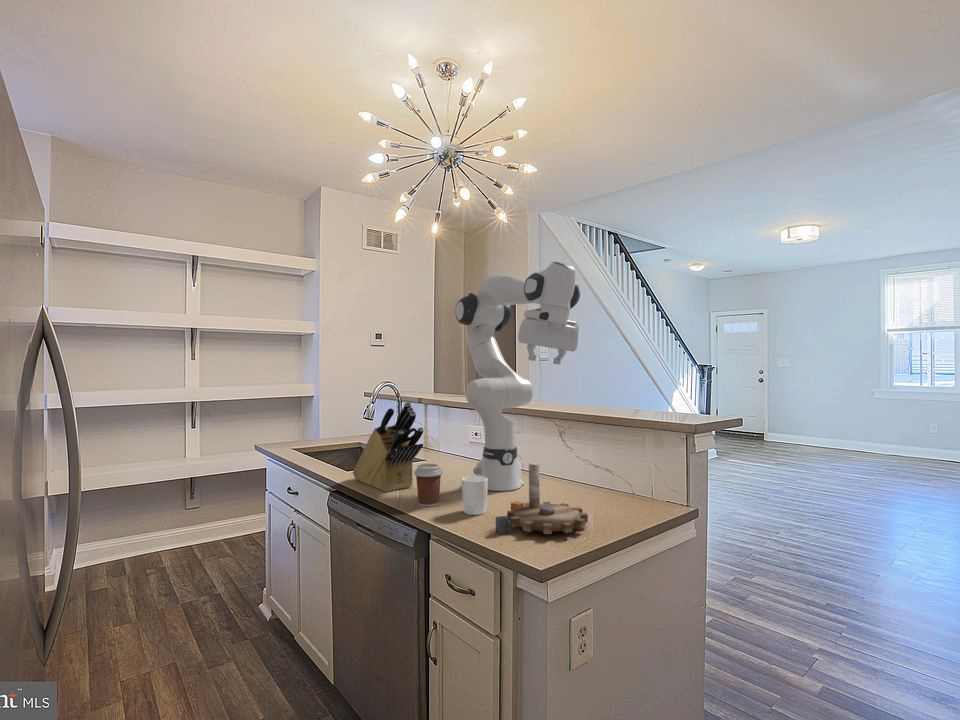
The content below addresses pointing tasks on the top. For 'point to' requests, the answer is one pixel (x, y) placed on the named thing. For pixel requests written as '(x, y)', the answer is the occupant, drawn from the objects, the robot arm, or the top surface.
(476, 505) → the white cup
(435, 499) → the coffee cup
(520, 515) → the sprocket
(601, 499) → the top surface
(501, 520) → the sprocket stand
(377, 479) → the knife block
